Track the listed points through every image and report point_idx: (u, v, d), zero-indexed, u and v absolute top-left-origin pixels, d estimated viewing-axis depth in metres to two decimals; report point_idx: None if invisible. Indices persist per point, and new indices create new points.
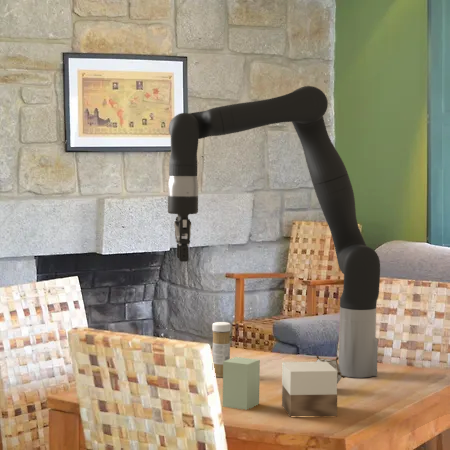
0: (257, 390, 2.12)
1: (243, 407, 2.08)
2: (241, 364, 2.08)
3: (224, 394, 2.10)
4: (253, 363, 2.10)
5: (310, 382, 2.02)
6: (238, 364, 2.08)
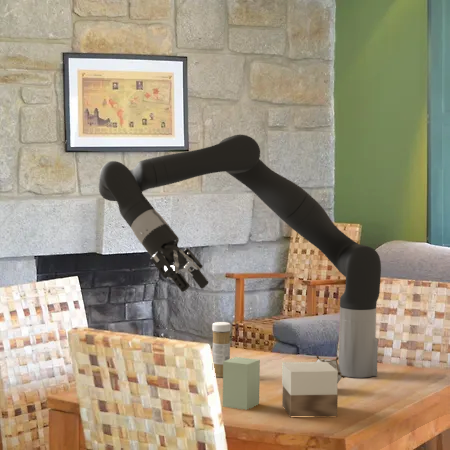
0: (257, 390, 2.12)
1: (243, 407, 2.08)
2: (241, 364, 2.08)
3: (224, 394, 2.10)
4: (253, 363, 2.10)
5: (310, 382, 2.02)
6: (238, 364, 2.08)
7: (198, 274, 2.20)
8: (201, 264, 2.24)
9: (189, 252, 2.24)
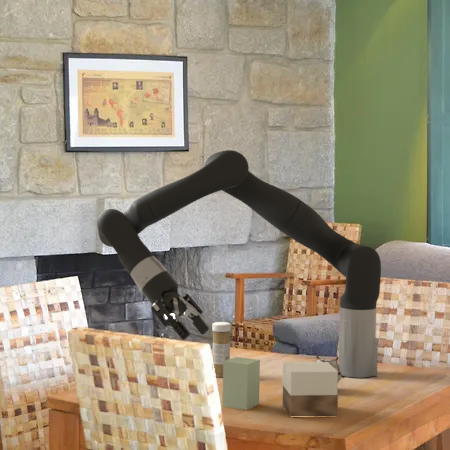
0: (257, 390, 2.12)
1: (243, 407, 2.08)
2: (241, 364, 2.08)
3: (224, 394, 2.10)
4: (253, 363, 2.10)
5: (310, 382, 2.02)
6: (238, 364, 2.08)
7: (198, 321, 2.21)
8: None
9: (189, 298, 2.24)
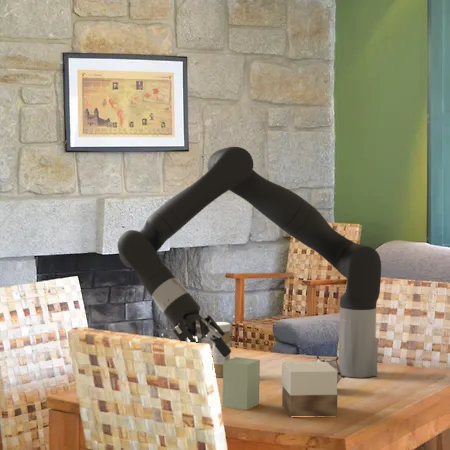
0: (257, 390, 2.12)
1: (243, 407, 2.08)
2: (241, 364, 2.08)
3: (224, 394, 2.10)
4: (253, 363, 2.10)
5: (310, 382, 2.02)
6: (238, 364, 2.08)
7: (220, 343, 2.18)
8: None
9: (211, 319, 2.22)
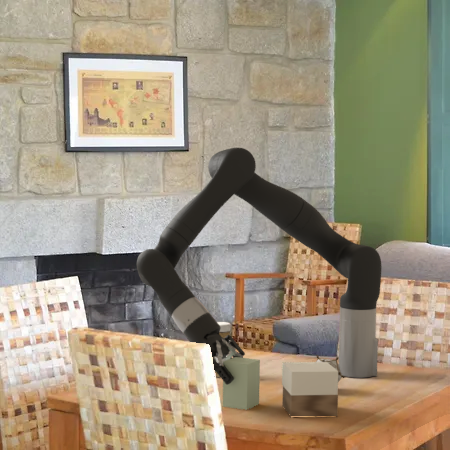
0: (257, 390, 2.12)
1: (243, 407, 2.08)
2: (241, 364, 2.08)
3: (224, 394, 2.10)
4: (253, 363, 2.10)
5: (311, 382, 2.02)
6: (238, 364, 2.08)
7: None
8: (243, 351, 2.19)
9: (231, 339, 2.19)
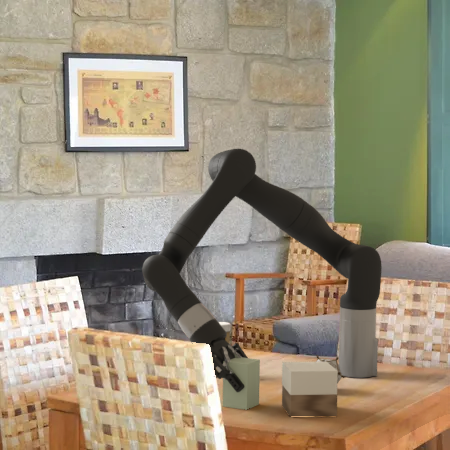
0: (257, 390, 2.12)
1: (243, 407, 2.08)
2: (241, 364, 2.08)
3: (224, 394, 2.10)
4: (253, 363, 2.10)
5: (310, 381, 2.02)
6: (238, 364, 2.08)
7: None
8: None
9: (238, 347, 2.18)
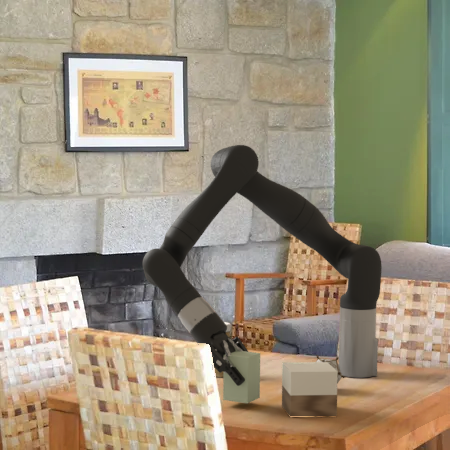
0: (258, 383, 2.12)
1: (244, 400, 2.08)
2: (241, 357, 2.08)
3: (225, 388, 2.10)
4: (253, 356, 2.10)
5: (310, 382, 2.02)
6: (238, 357, 2.08)
7: None
8: None
9: (239, 341, 2.18)
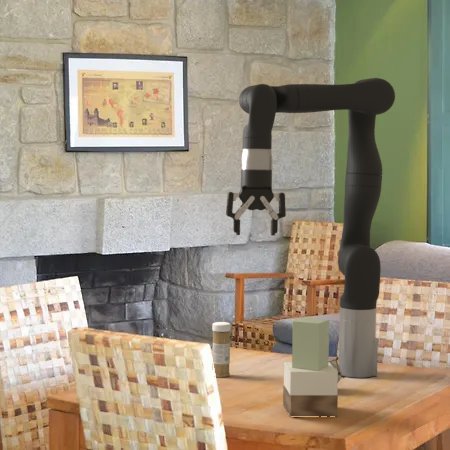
0: (327, 351, 2.07)
1: (314, 368, 2.03)
2: (312, 323, 2.03)
3: (294, 355, 2.05)
4: (323, 323, 2.05)
5: (310, 382, 2.02)
6: (309, 323, 2.04)
7: (271, 223, 2.32)
8: (285, 214, 2.32)
9: (281, 198, 2.31)
